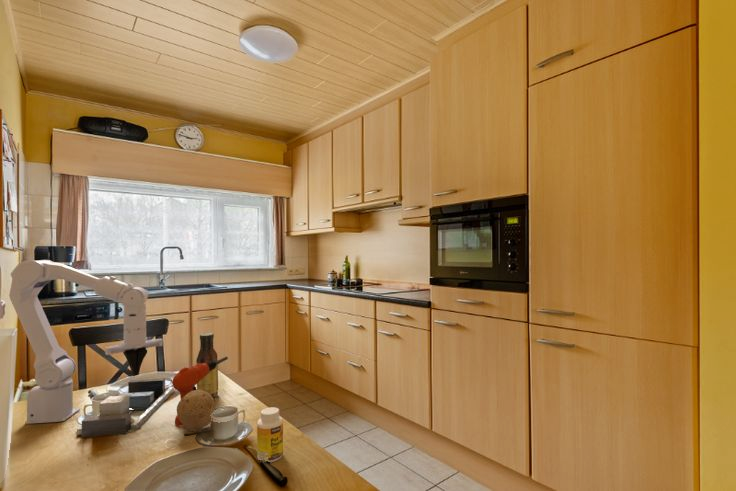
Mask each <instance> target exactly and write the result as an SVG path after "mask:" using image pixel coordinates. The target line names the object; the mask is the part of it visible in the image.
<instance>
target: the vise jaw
mask: <svg viewBox="0 0 736 491" xmlns="http://www.w3.org/2000/svg"><path fill="white" fill-rule="evenodd" d="M127 388H128V389H127V391H128V393H125V392H123V393H119V394H120V396H123V395H129V408H132V409H134V410H133V411H142V410H144V411H146V410H147V409H148V408H149V407H150V406H151V405H152V404H153V403H154V402H155V398H156V397H157V398H159V397H160V396H161V395H162V394H163V393H164V392H165V391H166V378H148V379H133V380H129V381H128V386H127Z"/></svg>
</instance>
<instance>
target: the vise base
mask: <svg viewBox="0 0 736 491" xmlns="http://www.w3.org/2000/svg"><path fill="white" fill-rule="evenodd" d="M174 389H175V388H174V387H173V386H169V387H168V388H167V390H166V389H165V392H164V393H163V394H162V395H161V396H160V397H157V399H156V400H154V403H153V404H152V405H151V406H150V407H149V408H148V409H145V410H144V412H143V413H142V414H141V415H140V416H139V417H138V418H137V419H136V420H134V422H132V413H131V412H129V413H125V414H111V415H97V416H95V415H88V416H87V417H85V418H84V419H82V420H81V426H79V427H78V428H77V431H76V435H77V436H81V438H93V437H95V438H96V437H103V436H106V437H107V436H108V437H109V436H117V435H120V436H121V435H126V434H128V433H129V431H131V432H136V431H138V429H139V428H140V427H141V426H142V425H143V424H144V423H145V422H146V421H147V420H148V419H149V418H150V417H151V416H152V415H153V413H154V412H156V411H157V410H158V409H159V408H160V407H161V405H163V403H164V402H165V401H166V400H167V399H168V398H169V397H170V396H171V395H172V394H173V393H174V392H175V390H174ZM124 393H128V390H127V391H125V392H124Z"/></svg>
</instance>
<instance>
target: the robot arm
mask: <svg viewBox="0 0 736 491" xmlns="http://www.w3.org/2000/svg"><path fill="white" fill-rule="evenodd" d="M10 276H11V278H12V279H11V284H10V289H9V295H8V296H9V300H10V302H11V304H12V306H13V308H14V311H15V313H16V315H17V318H18V319H19V321H20V324H21V326H22V329H23V331H24V332H25V335H26V337H27V339H28V341H29V342H28V343H29V344H30V346H31V348H32V351H33V352H34V355H35V358H34V363H33V368H34V371H35V374H34V380H35V383H36V386H34V387H32V388H31V389H30V391H28V394H27V397H26V421H25V422H24V424H25V425H29V424H30V425H31V424H32V425H33V424H43V423H46V424H47V423H56V422H57V423H58V422H59V423H60V422H64V421H66V420H67V419H69V418H70V417H72V416H73V415H74V414H76V413H78V412H79V411H80V410H81V408H80V407H79V408H76V407H75V408H73V407H74V405H73V404H74V400H73V399H74V398H73V396H74V395H73V394H74V392H73V391H74V385H73V384H74V380H73V377H72V376H73V375H74V374H75V372H76V369H77V363H76V361H75V360H74V359H73V358H72V357H70V356H69V354H68V352H67V350H65V349H63V348H62V347H60V345H59V343H58V339H57V338H56V335H55V334H54V331H53V329H52V326H51V325H50V324H51V323H50V322H49V320H48V318H47V315H46V313H45V311H44V309H43V306H42V304H41V301H40V300H39V298H38V296H39V293H40V292H41V291H42V290H43V288H44V287H45V286H46V285H47V284H49V283H50V282H51V281H53V280H63V281H67V282H70V283H74V284H77V285H79V286H84V287H85V288H89V289H93V292H94V293H95V295H96V296H99V297H102V298H105V299H108V300H110V301H114V302H116V303H120V304H121V305H122V306H123V343H119V344H115V345H111V346H106V347H105V346H104V347H105V348H104V354H105V355H106V356H110V355H113V354H119V353H123V356H125V359H126V360H127V363H128V365H129V368H130V373H131V376H133V377H135V376H139V375H140V372H141V371H140V370H141V366H142V363H143V362H144V359H145V357H146V356H147V354H148V348H154V347H163V346H164V345H163V344H164V341H163V338H156V339H155V338H154V339H147V311H146V310H147V306H146V305H147V303H146V302H147V301H148V298H149V293H148V291H147V290H146V289H145V288H144V287H142V286H141V285H140V286H139V285H136V286H135V285H134V284H133V283H131V282H130V283H127V282H124V281H120V280H118V279H117V277H116V276H113V275H111V276H103V277H100V278H99V277H96V276H94V275H92V274H89V273H86V272H84V271H81V270H79V269H76V268H74V267H72V266H69V265H66V264H63V263H60V262H57V261H55V262H54V261H52V260H50V259H40V260H33V259H32V260H31V259H28V260H23V261H21V262H19V263H18V264H17V265H16V266H15V267H14V269H12V271H10ZM133 285H134V286H133Z"/></svg>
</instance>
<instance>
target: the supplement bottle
mask: <svg viewBox="0 0 736 491" xmlns="http://www.w3.org/2000/svg"><path fill="white" fill-rule="evenodd" d="M283 454H284V419H283V417H282V416H280V409H279V408H278V407H274V406H273V407H266V408H264V409H262V410H261V412H260V418H259V419H258V420H257V423H256V457H257V458H256V459H257V460H258V461H259V460H265V461H268V462H270V463H269V464H271V463H275V462H276V461H278V460H280V459H281V458H282V457H283Z"/></svg>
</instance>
